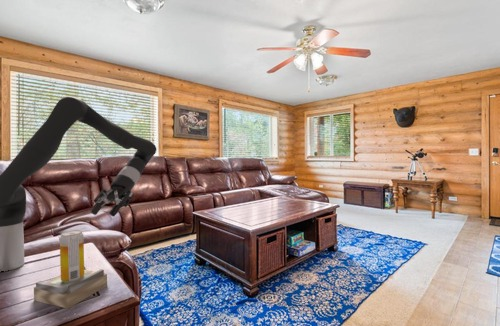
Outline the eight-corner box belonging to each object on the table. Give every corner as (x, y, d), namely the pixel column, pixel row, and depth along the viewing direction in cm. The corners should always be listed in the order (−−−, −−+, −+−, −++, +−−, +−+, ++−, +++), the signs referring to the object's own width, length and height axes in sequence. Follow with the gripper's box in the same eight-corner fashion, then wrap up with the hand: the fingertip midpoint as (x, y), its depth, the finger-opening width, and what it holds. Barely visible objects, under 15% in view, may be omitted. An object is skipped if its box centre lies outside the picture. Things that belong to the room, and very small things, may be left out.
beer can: (80, 272, 82) (79, 228, 81) (87, 278, 78) (86, 232, 77) (58, 279, 77) (57, 233, 77) (64, 286, 73) (62, 237, 73)
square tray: (33, 300, 73) (32, 281, 73) (76, 279, 86) (75, 263, 85) (67, 309, 69) (66, 289, 69) (107, 285, 82) (106, 268, 81)
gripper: (106, 173, 98) (80, 207, 87) (135, 174, 93) (111, 210, 83) (117, 185, 103) (93, 218, 92) (145, 186, 99) (123, 221, 88)
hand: (102, 214), depth 87 cm, fingers open, 8 cm apart
